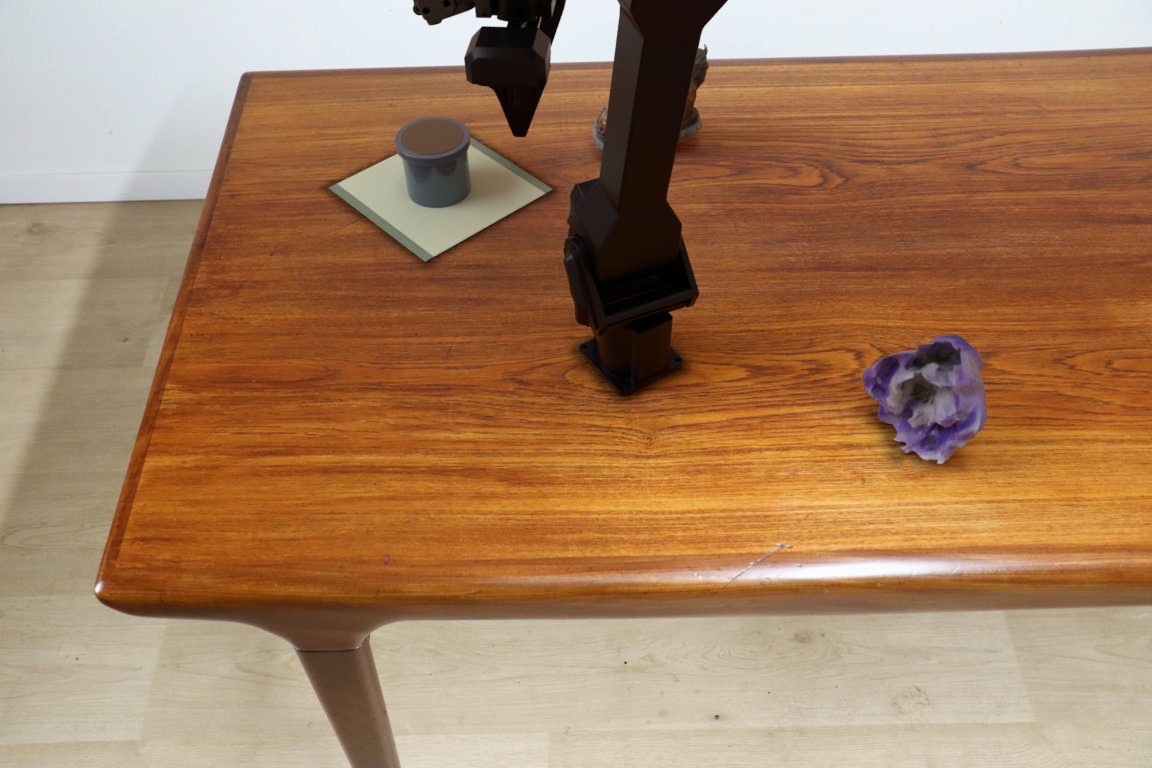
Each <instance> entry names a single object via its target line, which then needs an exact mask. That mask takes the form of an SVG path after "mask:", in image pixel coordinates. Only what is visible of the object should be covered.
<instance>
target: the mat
mask: <svg viewBox="0 0 1152 768" xmlns="http://www.w3.org/2000/svg"><path fill="white" fill-rule="evenodd" d="M467 151H468V160H469V169H470V178H471V191H470V193H469V195H468V196H467V197H466V198H465V199H464V200H462V201H461V202H459V203H457V204H455V205H452V206H448V207H443V208H429V207H424V206H421V205H418V204H416V203H415V202H413V201H412V200H411V199H410V197H409V195H408V192H407V186H406V180H405V175H404V169H403V163H402V158H401V157H400V156H399V154H398V153H396V154H394V155H393V156H389V157H388V158H386V159H384V160H382V161H380V162H378V163H376V164H374V165H372V166H369V167H368V168H366V169H363V170H361V171H360V172H358V173H355V174H354V175H352V176H349V177H347V178H345V179H344V180H342V181H339V182H337V183H335V184H333V185H331V186H329V187H328V189H329V190H330V191H332V193H334V194H336V195H337V196H338V197H339V198H341V199H342V200H343V201H344V202H346V203H347V204H348V205H350V206H351V207H352V208H354V209H355V210H357V211H358V213H360V214H362V215H363V216H364V217H366V218H367V219H368V220H369V221H371V222H372V223H373V224H375V225H376V226H377V227H378V228H380V229H381V230H383V231H384V232H385V233H386V234H388V235H389V236H390V237H392V238H393V239H394V240H396V241H397V243H399V244H401V246H403V247H405V248H406V249H407V250H409V251H410V252H411V253H412V254H414V256H416V257H417V258H419V259H420V260H421V261H423V262H424V263H426V262H428V261H430V260H432V259H434V258H435V257H437V256H439V255H440V254H442V253H444V252H446V251H448V250H449V249H451V248H453V247H455V246H456V245H458V244H460V243H462V242H464V241H465V240H467V239H469V238H471V237H473V236H474V235H476V234H478V233H479V232H482V231H483V230H485V229H486V228H488V227H490V226H492V225H494V224H495V223H497V222H499V221H501V220H502V219H504V218H506V217H507V216H510V215H511V214H513V213H514V212H516V211H519V210H520V209H522V208H524V207H525V206H527V205H529V204H531V203H533V202H534V201H536V200H537V199H540V198H541V197H544V195H546V194H548V193H550V192H552V191H553V190H554V189H553V188H552V187H550V186H549V185H547V184H546V183H544V182H543V181H541V180H540V179H537V178H536V177H535V176H533V175H532V174H530V173H528V172H526V171H525V170H524V169H522V168H520V167H519V166H518V165H516V164H514V163H513V162H511V161H509V160H508V159H506V158H505V157H503V156H502V155H500V154H498V153H497V152H495V151H494V150H492V149H491V148H489V147H487V146H485V145H484V144H482V143H481V142H479V141H478V140H476V139H475V138H473V137H472V136H470V146H469V148H468V150H467Z"/></svg>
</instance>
